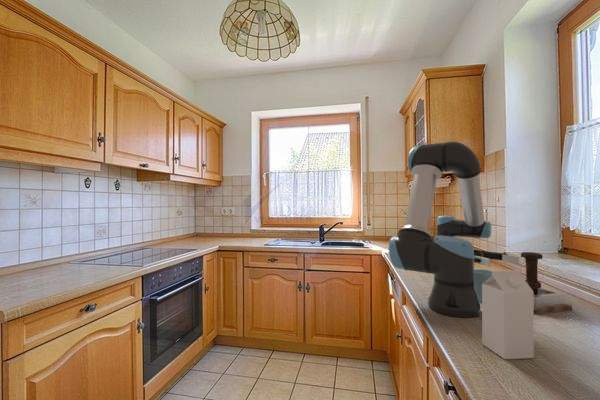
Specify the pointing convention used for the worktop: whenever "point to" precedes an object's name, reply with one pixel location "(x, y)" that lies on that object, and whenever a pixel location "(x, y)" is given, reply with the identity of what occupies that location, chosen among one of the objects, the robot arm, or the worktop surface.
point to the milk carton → (508, 315)
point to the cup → (480, 281)
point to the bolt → (532, 270)
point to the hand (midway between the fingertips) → (504, 261)
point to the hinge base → (550, 302)
